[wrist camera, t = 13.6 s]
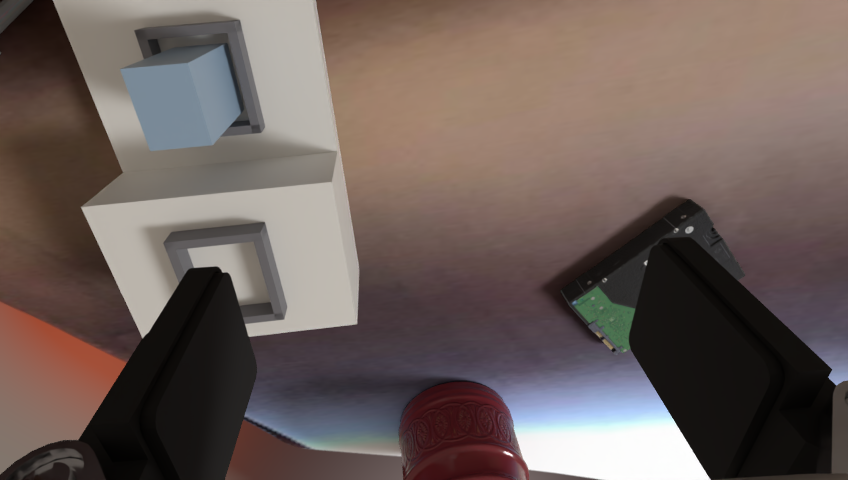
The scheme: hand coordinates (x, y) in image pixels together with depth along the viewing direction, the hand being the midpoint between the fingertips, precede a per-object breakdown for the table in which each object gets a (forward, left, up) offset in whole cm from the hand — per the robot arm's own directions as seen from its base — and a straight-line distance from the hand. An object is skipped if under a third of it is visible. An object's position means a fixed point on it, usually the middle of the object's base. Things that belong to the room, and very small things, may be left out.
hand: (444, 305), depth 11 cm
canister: (+39, +3, -29) cm, 49 cm away
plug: (-1, -13, -27) cm, 30 cm away
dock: (+5, -13, -29) cm, 32 cm away
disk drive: (+22, +23, -30) cm, 44 cm away
